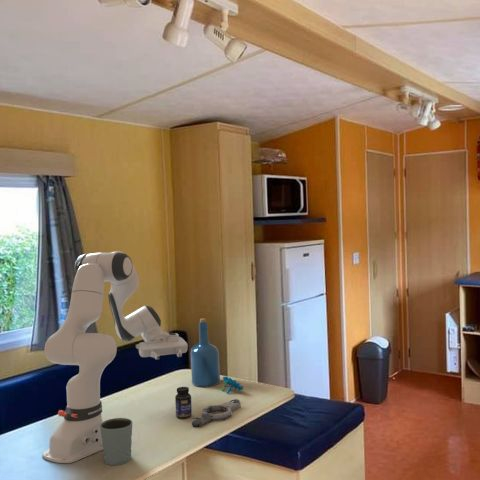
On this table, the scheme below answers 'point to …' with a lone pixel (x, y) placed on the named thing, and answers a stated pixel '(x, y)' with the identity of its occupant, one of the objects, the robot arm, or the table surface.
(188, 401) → the pill bottle
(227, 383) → the blue jointed connector toy
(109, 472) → the table surface
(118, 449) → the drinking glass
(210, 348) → the wine bottle
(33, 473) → the table surface
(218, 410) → the octagon ring handle
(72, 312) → the robot arm
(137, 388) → the table surface
